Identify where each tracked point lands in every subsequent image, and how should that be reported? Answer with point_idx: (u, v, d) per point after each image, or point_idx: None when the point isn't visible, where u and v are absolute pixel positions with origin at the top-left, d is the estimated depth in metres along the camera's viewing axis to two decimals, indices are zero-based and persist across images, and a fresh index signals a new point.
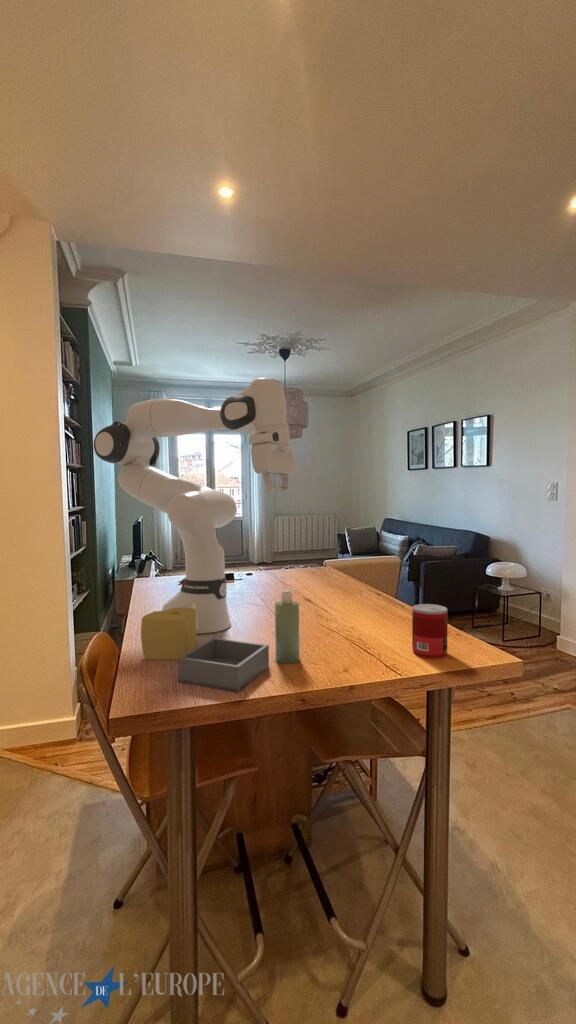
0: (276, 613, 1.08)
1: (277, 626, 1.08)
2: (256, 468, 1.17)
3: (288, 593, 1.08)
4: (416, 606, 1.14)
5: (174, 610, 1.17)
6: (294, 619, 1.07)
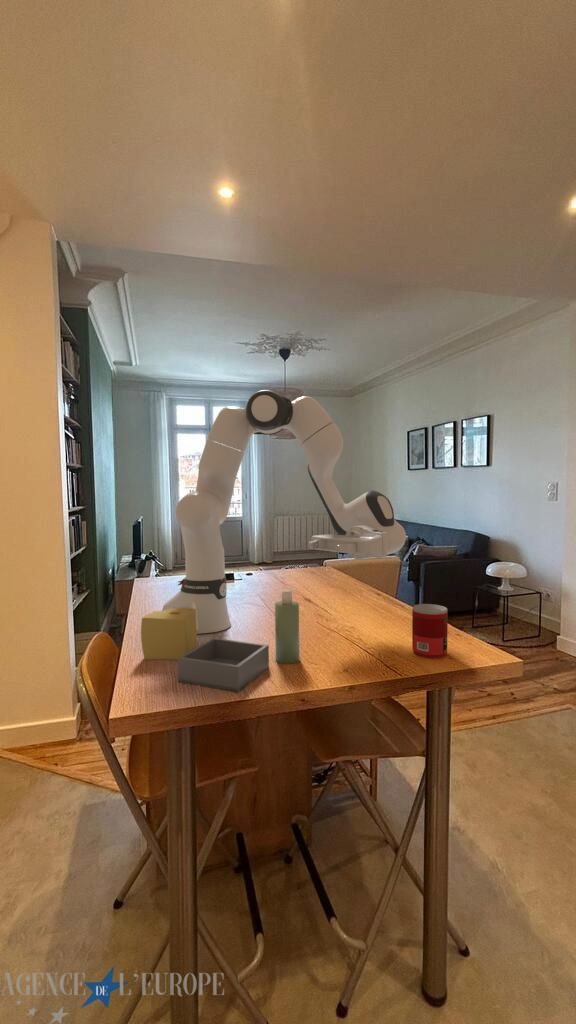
0: (276, 613, 1.08)
1: (277, 626, 1.08)
2: (371, 544, 1.12)
3: (288, 593, 1.08)
4: (416, 606, 1.14)
5: (174, 610, 1.17)
6: (294, 619, 1.07)
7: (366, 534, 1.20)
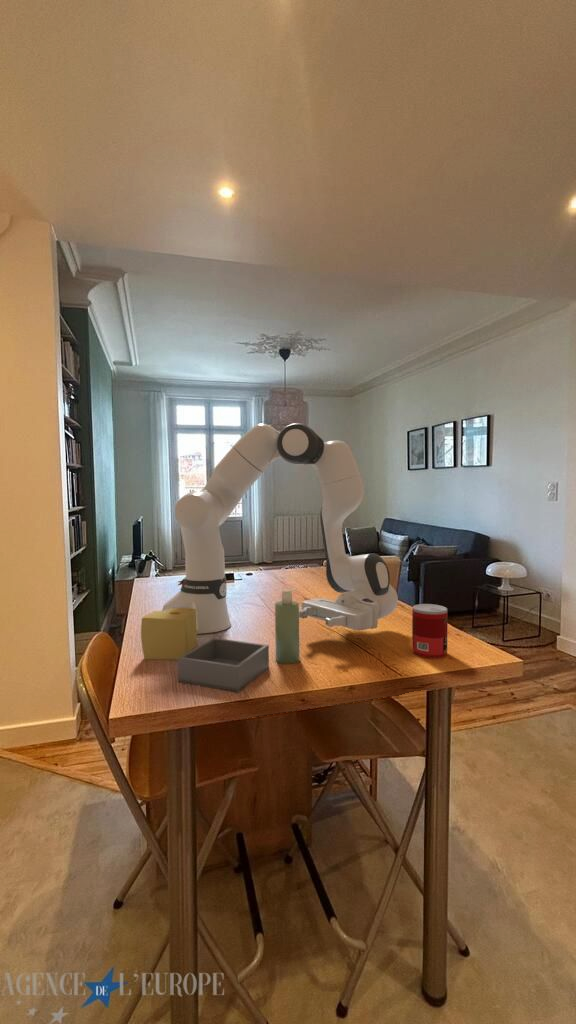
0: (276, 613, 1.08)
1: (277, 626, 1.08)
2: (361, 619, 1.11)
3: (288, 593, 1.08)
4: (416, 606, 1.14)
5: (175, 610, 1.17)
6: (294, 619, 1.07)
7: (357, 604, 1.18)
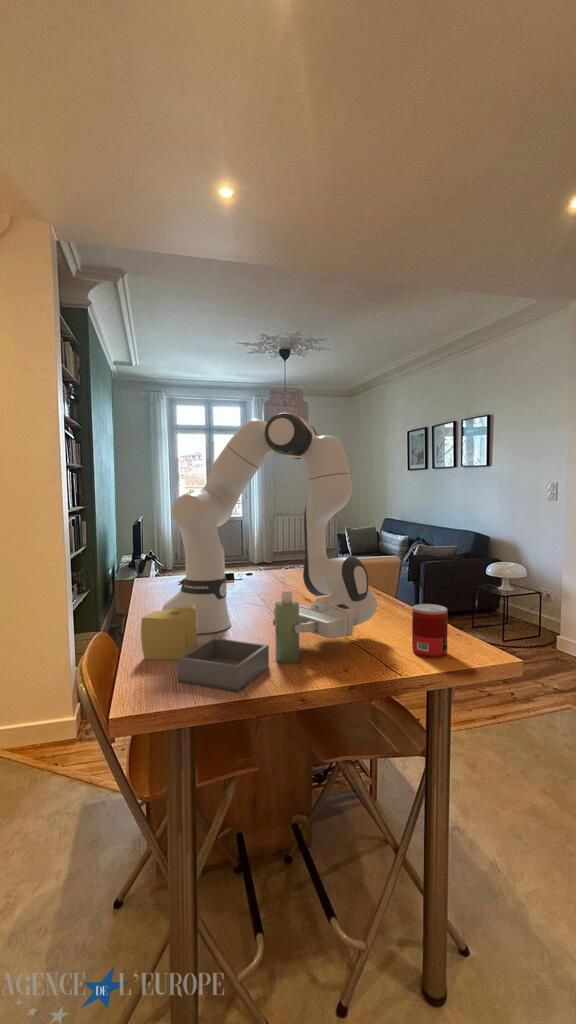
0: (276, 613, 1.08)
1: (277, 626, 1.08)
2: (333, 626, 1.05)
3: (288, 593, 1.08)
4: (416, 606, 1.14)
5: (174, 610, 1.17)
6: (294, 619, 1.07)
7: (331, 610, 1.12)
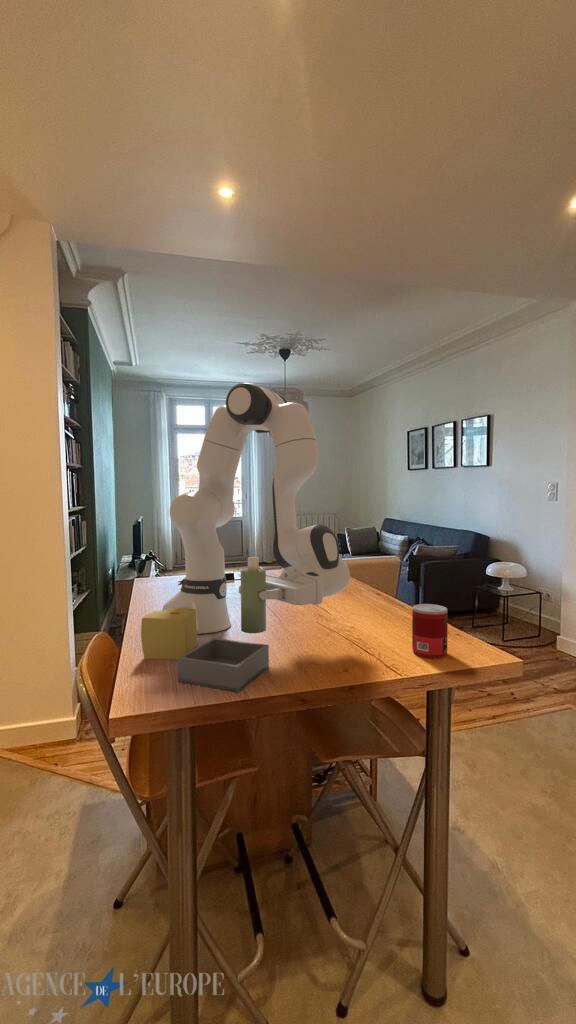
0: (241, 580, 1.03)
1: (242, 594, 1.02)
2: (301, 593, 1.00)
3: (254, 559, 1.03)
4: (416, 606, 1.14)
5: (175, 610, 1.17)
6: (260, 586, 1.02)
7: (300, 578, 1.07)
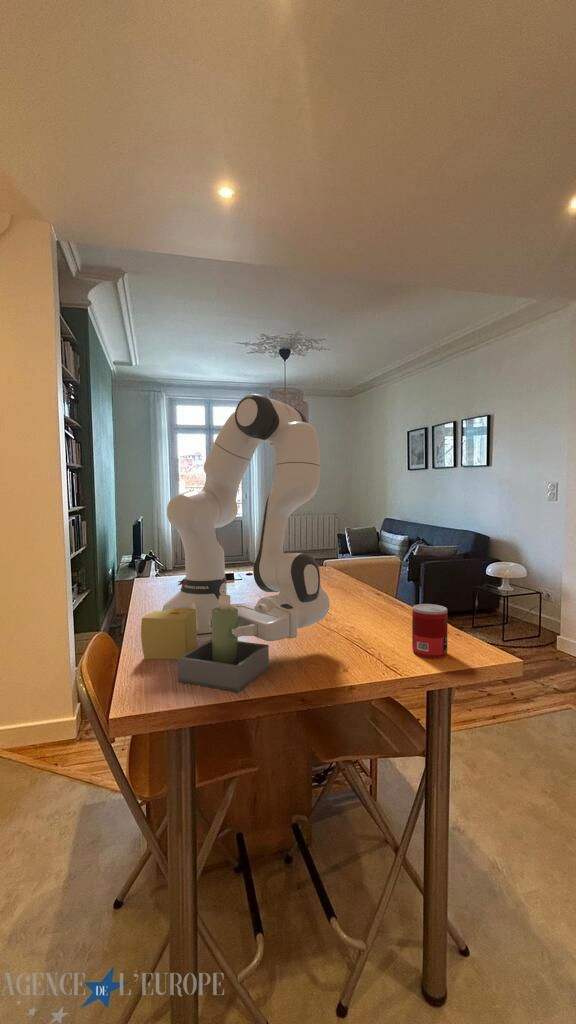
0: (212, 620, 0.99)
1: (213, 634, 0.99)
2: (272, 628, 0.96)
3: (225, 598, 0.99)
4: (416, 606, 1.14)
5: (174, 610, 1.17)
6: (231, 626, 0.98)
7: (274, 610, 1.04)
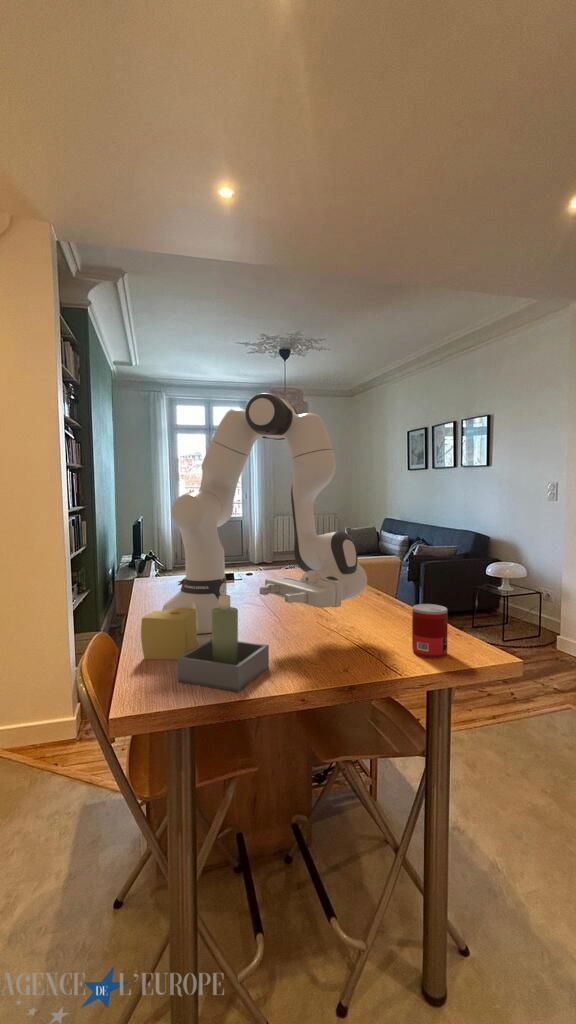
0: (212, 620, 0.99)
1: (213, 634, 0.99)
2: (322, 596, 1.06)
3: (225, 599, 0.99)
4: (416, 606, 1.14)
5: (175, 610, 1.17)
6: (230, 627, 0.98)
7: (320, 582, 1.14)
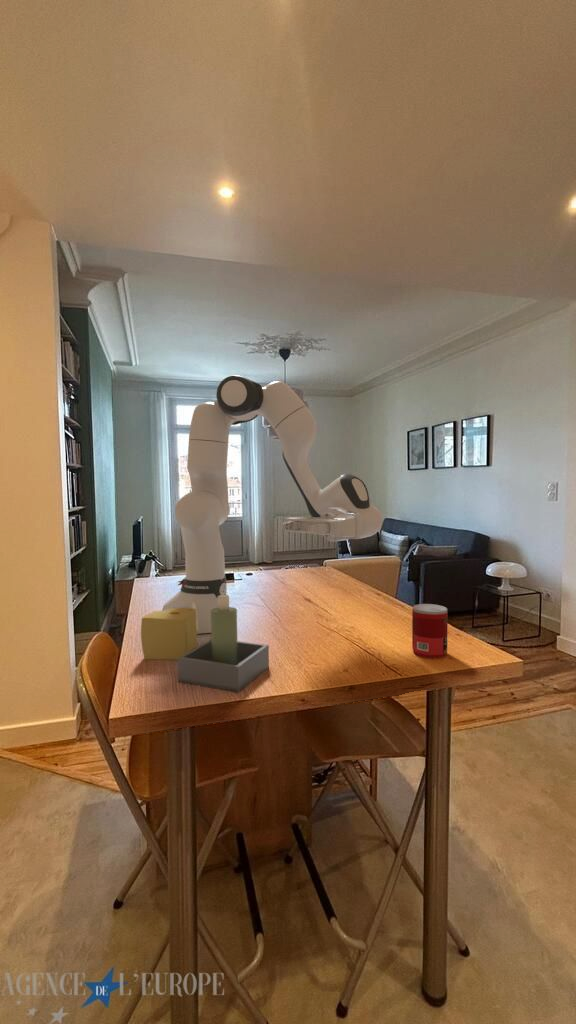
0: (211, 620, 0.99)
1: (212, 635, 0.99)
2: (343, 525, 1.11)
3: (224, 599, 0.99)
4: (416, 606, 1.14)
5: (175, 610, 1.17)
6: (230, 627, 0.98)
7: (340, 516, 1.19)
